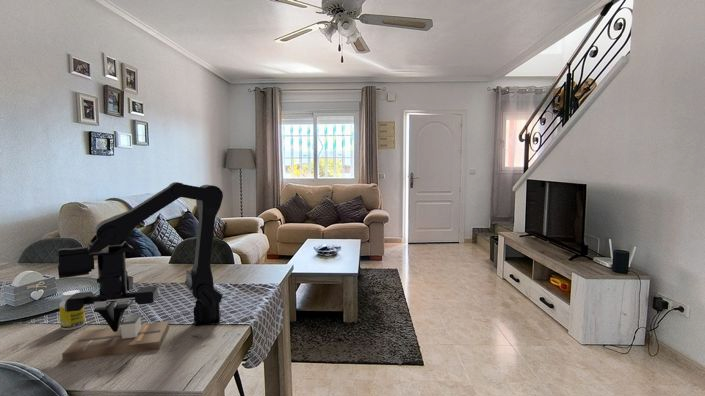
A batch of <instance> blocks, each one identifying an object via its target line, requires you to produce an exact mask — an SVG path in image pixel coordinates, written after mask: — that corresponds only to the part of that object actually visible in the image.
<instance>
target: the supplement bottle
mask: <svg viewBox="0 0 705 396" xmlns="http://www.w3.org/2000/svg"><path fill="white" fill-rule="evenodd" d="M75 293H81V290H78V289H76V290H75V289H74V290H68V291H65V292H62V294H61V297H62V298H61V299H62V300H61V301H60V302H59V304H58V306H59V321H60V322H59V323H60V329H61V330H63V331H72V330H77V329H79V328H82V327H83V326H85V323H86V318H85V316H86V315H85V306H84V307H83V308H82V309H81V310H80V311H70V312H66V311H65V302H66V301H67V299H69V298H70V297H71V296H73V295H74V294H75Z"/></svg>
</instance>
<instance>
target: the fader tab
mask: <svg viewBox="0 0 705 396" xmlns="http://www.w3.org/2000/svg"><path fill="white" fill-rule="evenodd" d="M141 315H142V313H141V312H136V313H127V314H126V315H125V316H124V317H123V318H122V320H121V323H120V327H121V331H122V339H124V338H132V337H136V336H137V334H138V333H139V331H140V329H141V324H142V320H141Z"/></svg>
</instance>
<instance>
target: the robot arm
mask: <svg viewBox="0 0 705 396" xmlns="http://www.w3.org/2000/svg"><path fill="white" fill-rule="evenodd" d="M223 193H224V192H223V191H222V189H220V187H218V186H216V185H212V184H211V185H210V184H203V185H200V186H195V185H189V184H184V183H183V182H178V181H174V182H172V183H170V184H169V185H168V186H166V187H165V188H163V189H162V190H160V191H159V192H156V194H153V195H152V196H151V197H148V198H147V199H145V200H144V201H142V202H141V203H139V204H137V205H135V206H134V207H133V208H131V209H129V210H126V211H125V212H122V213H119V214H116V215H114V216H111V217H109V218H107V219H104V220H102V221H100V222H99V223H98V224H97V225H96V227H95V231H94V233H95V235H94V236H93V237H92V238H91V239H90V241H88V243H87V244H86V246H81V247H71V248H70V247H68V248H67V247H63V248H59V249H58V263H57V272H58V279H59V280H60V279H66V278H74V277H78V276H79V277H81V276H86V275H87V276H88V275H89V274H90V272H91V273H92V270H93V271H94V270H95V258H94V257H97V273H98V277H97V278H96V284H98V288H99V294H97V295H94V292H93V291H84V292H83V291H82V292H81V291H80V293H75V294H74V295H73V296H71V297H70V298H69V299H67V301H66V302H65V311H66V312H70V311H80V310H81V309H82V308H83V307H84V308H85V305H94V309H93V312H94V313H98V314H99V315H100V316H101V317H102V318H103V319H104V320H105V322H106V323H107V325H108V326H109V328H111V329H112V330H113V332H117V331H118V329H119V327H121V324H120V323H121V321H122V320H123V316H124V313H125V311H126V310H128V309H129V308H130V306H131V305H132V304H133V302H135V304H137V305H148V304H149V305H150V304H153V303H155V301H156V299H157V298H158V296H159V289H158V288H157V287H156V286H154V285H152V286H142V287H141V286H140V287H139V289H138V290H137V291H131V292H130V290H133V287H134V286H133V285H134V276H131V275H130V276H129V275H128V271H127V268H126V253H131V252H134V251H135V249H134V247H133V246H132V245H130V244H128V242H127V241H125V240H124V239H126V237H128V236H129V235H130V234H131V233H132V232H133V231H134V230H135V229H136V228H137V226H139V225H140V224H141V223H143V222H144V221H145V220H147V219H149V218H150V217H152V216H153V215H155V214H156V213H158V212H159V211H162V209H164V208H166V207H168V206H169V205H171V204H172V203H174V202H175V201H177V200H178V199H181V198H182V199H191V200H195V202H196V203H195V204H196V209H197V214H198V223H197V230H196V231H197V233H196V244H195V253H194V263H193V266H192V268H191V269H190V270H188V269H186V271H185V281H184V283H183V284H184V285H185V286H186V289H187V291H188V292H189V293H190V294H191V295H192V297H194V298H195V299H196V301H195V304H194V306H193V322H195V324H194V326H195V327H199V326H209V325H216V324H220V323H221V316H222V314H221V304H220V303H221V301H222V299H223V294H221V293H220V292H219V291H218V290H217V289H216V288H215V286H214V277H213V273H212V268H211V263H212V255H213V253H212V252H213V245H214V244H213V243H214V233H215V224H216V223H215V222H216V218H217V217H216V216H217V215H218V213H219V211H220V209H221V205H222V202H223V198H224V194H223ZM123 240H124V241H123ZM122 241H123V242H122ZM121 242H122V243H121ZM120 243H121V244H120ZM105 248H107V249H105ZM128 291H129V292H128Z"/></svg>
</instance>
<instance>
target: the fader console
mask: <svg viewBox="0 0 705 396" xmlns="http://www.w3.org/2000/svg"><path fill="white" fill-rule="evenodd" d="M169 330H170V321H168V320H167V321H159V322H158V321H157V322H149V323H141V329H140V331H139V333H138V334H137V336H136V337H132V338H124V339H122V331H121V326H119V329H118V331H117V332H113V330H112V329H111V328H110V327H105V328H97V329H87V330H83V332H81V334H80V335H79V336H78V337H77V338H76V339H74V340H73V342H72V343H71V344H70V345H69V346H68V347H67V348H66V349H65V350H64V351H63V352H62V355H61V356H62V363H65V362H67V363H68V362H72V361H73V362H74V361H80V360H82V361H83V360H88V359H95V358H97V359H98V358H103V357H104V358H105V357H110V356H111V357H112V356H118V355H126V354H134V353H143V352H149V351H150V352H151V351H157V350H160V349H161V347H162V345H163V343H164V341H165V339H166V336H167V334H168V332H169Z"/></svg>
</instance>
